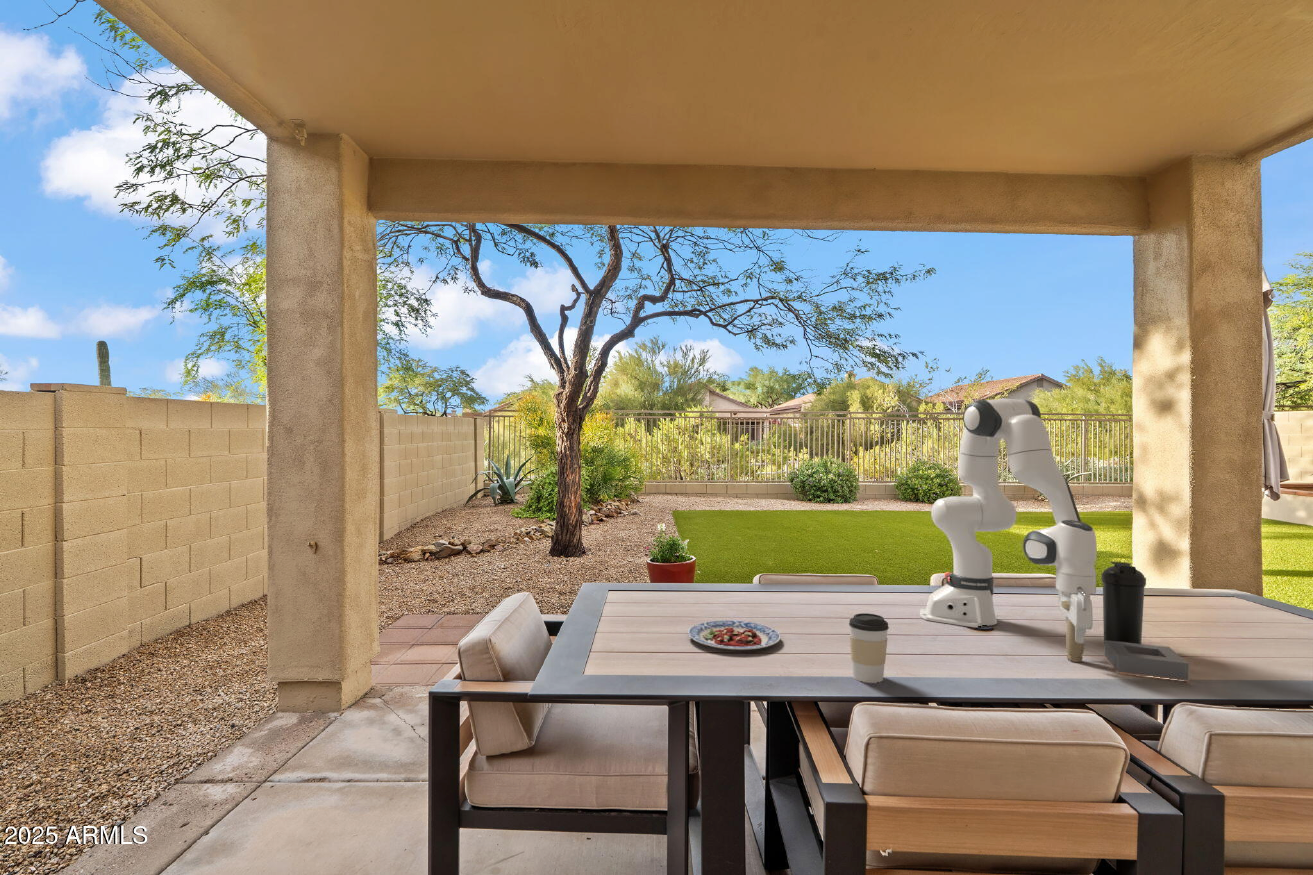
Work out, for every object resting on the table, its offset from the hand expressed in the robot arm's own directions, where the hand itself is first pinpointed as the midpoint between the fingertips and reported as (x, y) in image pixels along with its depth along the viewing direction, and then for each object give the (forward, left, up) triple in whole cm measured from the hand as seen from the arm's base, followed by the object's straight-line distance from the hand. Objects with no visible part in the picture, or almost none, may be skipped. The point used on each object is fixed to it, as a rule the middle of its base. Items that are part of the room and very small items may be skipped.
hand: (1074, 637), depth 171 cm
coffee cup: (-49, -34, -6) cm, 60 cm away
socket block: (+15, 0, -6) cm, 16 cm away
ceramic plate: (-86, -19, -7) cm, 88 cm away
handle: (0, 0, -6) cm, 6 cm away
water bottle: (+15, +19, -6) cm, 25 cm away
